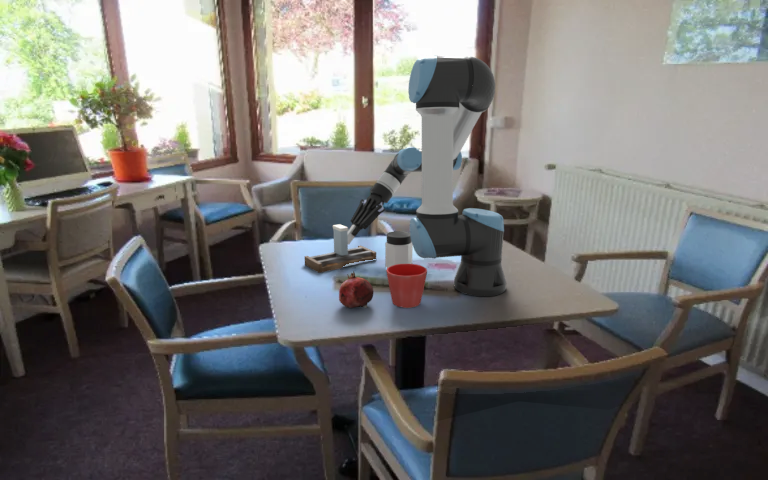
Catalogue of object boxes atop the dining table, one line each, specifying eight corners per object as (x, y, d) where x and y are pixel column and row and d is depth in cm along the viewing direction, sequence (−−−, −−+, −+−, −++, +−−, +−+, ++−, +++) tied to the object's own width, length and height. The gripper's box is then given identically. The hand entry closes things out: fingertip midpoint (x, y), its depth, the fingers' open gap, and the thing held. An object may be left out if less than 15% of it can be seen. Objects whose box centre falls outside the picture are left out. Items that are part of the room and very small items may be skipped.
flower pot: (389, 294, 142) (389, 262, 140) (427, 296, 141) (428, 263, 138) (383, 309, 132) (383, 274, 129) (425, 311, 131) (425, 276, 128)
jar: (417, 270, 162) (417, 234, 159) (398, 275, 157) (398, 239, 154) (399, 263, 169) (399, 229, 166) (380, 268, 164) (380, 233, 161)
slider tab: (340, 254, 172) (339, 224, 169) (348, 258, 168) (348, 227, 165) (333, 256, 171) (332, 225, 168) (341, 260, 166) (340, 228, 163)
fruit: (378, 310, 131) (378, 275, 129) (343, 315, 128) (343, 279, 125) (367, 298, 140) (367, 264, 137) (334, 302, 136) (333, 268, 134)
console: (360, 253, 180) (360, 245, 179) (376, 260, 172) (376, 252, 171) (304, 264, 167) (304, 256, 167) (318, 273, 160) (318, 264, 159)
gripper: (401, 197, 171) (362, 252, 167) (380, 192, 182) (342, 243, 178) (389, 184, 167) (348, 240, 163) (368, 179, 177) (329, 231, 173)
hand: (345, 242), depth 170 cm, fingers closed
